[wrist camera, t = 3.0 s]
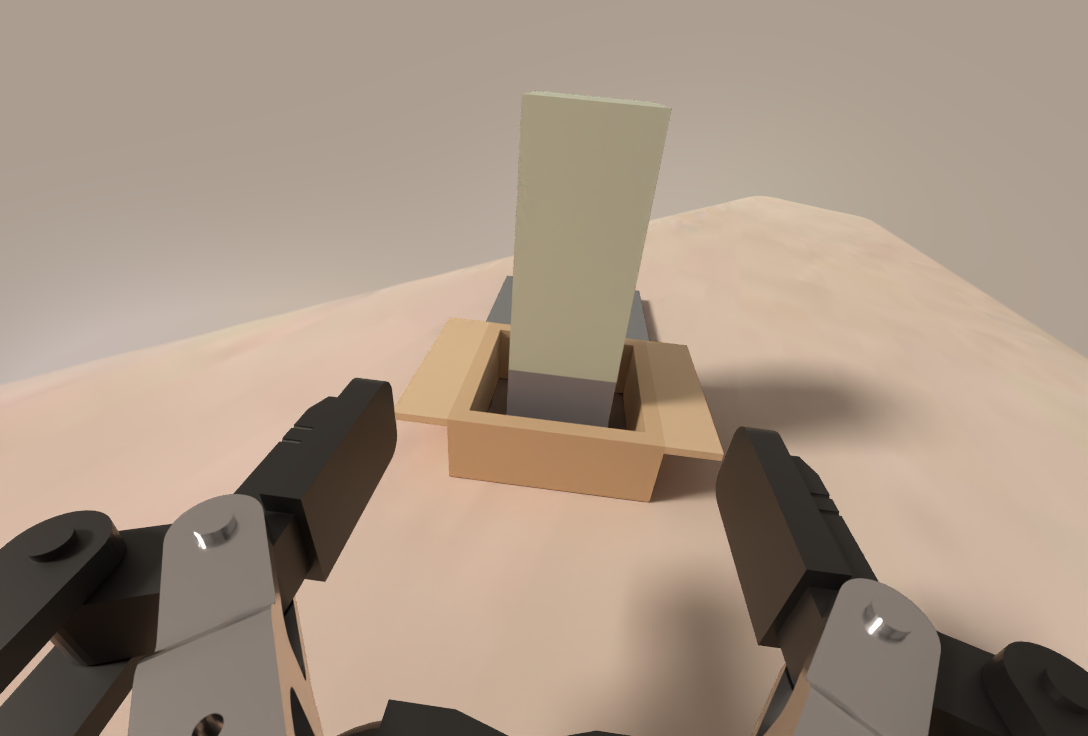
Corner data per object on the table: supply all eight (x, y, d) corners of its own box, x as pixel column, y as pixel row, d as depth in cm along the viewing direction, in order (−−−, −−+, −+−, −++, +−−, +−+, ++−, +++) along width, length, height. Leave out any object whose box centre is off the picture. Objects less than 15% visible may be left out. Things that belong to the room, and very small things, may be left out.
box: (599, 404, 28) (655, 102, 19) (600, 462, 24) (671, 108, 15) (518, 394, 28) (537, 90, 20) (504, 449, 24) (521, 93, 15)
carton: (673, 392, 30) (686, 345, 28) (702, 509, 22) (724, 454, 20) (451, 365, 30) (449, 317, 28) (398, 469, 22) (391, 412, 20)
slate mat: (637, 301, 42) (639, 290, 41) (649, 371, 32) (653, 359, 31) (506, 286, 42) (506, 275, 42) (478, 350, 32) (478, 338, 32)
